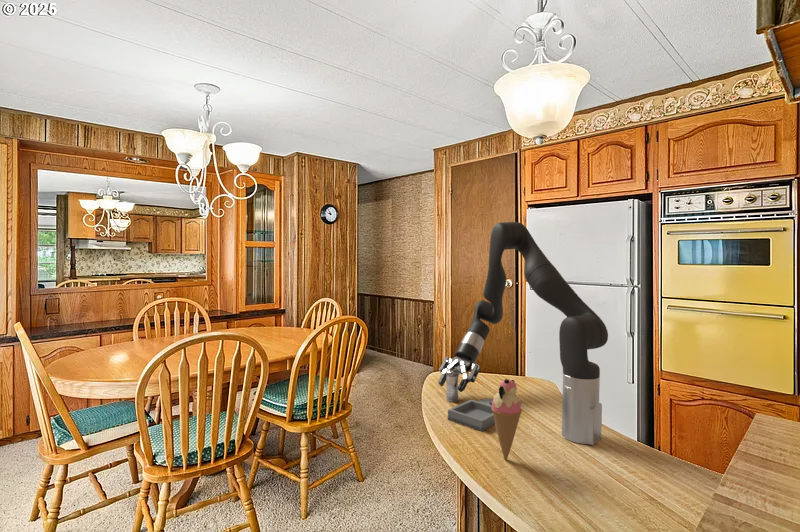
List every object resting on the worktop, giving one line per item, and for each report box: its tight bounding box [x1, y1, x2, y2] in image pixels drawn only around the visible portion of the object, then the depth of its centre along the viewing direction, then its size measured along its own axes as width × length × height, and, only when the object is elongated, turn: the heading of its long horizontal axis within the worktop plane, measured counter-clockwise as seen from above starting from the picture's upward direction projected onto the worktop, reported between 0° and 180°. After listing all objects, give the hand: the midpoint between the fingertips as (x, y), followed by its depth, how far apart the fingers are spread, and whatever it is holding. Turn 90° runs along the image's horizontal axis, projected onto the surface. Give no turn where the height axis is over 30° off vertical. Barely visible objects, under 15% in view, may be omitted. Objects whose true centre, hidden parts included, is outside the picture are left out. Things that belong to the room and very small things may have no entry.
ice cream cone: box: [491, 378, 523, 461], centre depth 102 cm, size 8×7×20 cm
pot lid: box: [478, 398, 493, 406], centre depth 135 cm, size 10×10×6 cm
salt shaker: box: [445, 368, 460, 403], centre depth 143 cm, size 5×5×10 cm
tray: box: [447, 399, 495, 432], centre depth 127 cm, size 12×12×3 cm
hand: (449, 387), depth 142 cm, fingers open, 7 cm apart
